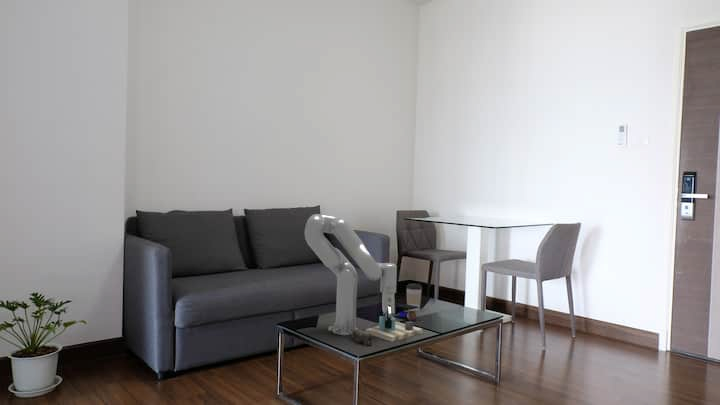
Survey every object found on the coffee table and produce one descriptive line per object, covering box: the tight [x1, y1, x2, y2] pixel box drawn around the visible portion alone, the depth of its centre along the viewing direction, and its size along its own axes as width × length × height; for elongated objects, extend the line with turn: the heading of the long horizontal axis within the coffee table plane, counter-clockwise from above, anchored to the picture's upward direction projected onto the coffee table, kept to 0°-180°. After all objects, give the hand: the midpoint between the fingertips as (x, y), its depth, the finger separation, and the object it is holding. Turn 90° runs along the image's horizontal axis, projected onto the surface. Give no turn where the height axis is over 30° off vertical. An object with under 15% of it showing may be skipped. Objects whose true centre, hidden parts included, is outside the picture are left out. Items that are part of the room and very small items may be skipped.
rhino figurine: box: [349, 328, 373, 347], centre depth 229 cm, size 4×14×6 cm, turn 43°
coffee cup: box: [406, 282, 423, 312], centre depth 295 cm, size 9×9×15 cm
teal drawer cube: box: [378, 315, 396, 330], centre depth 246 cm, size 7×7×5 cm
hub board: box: [365, 320, 424, 343], centre depth 245 cm, size 22×17×6 cm
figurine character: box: [394, 303, 418, 321], centre depth 275 cm, size 7×8×15 cm
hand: (387, 325), depth 246 cm, fingers closed on teal drawer cube, 6 cm apart
